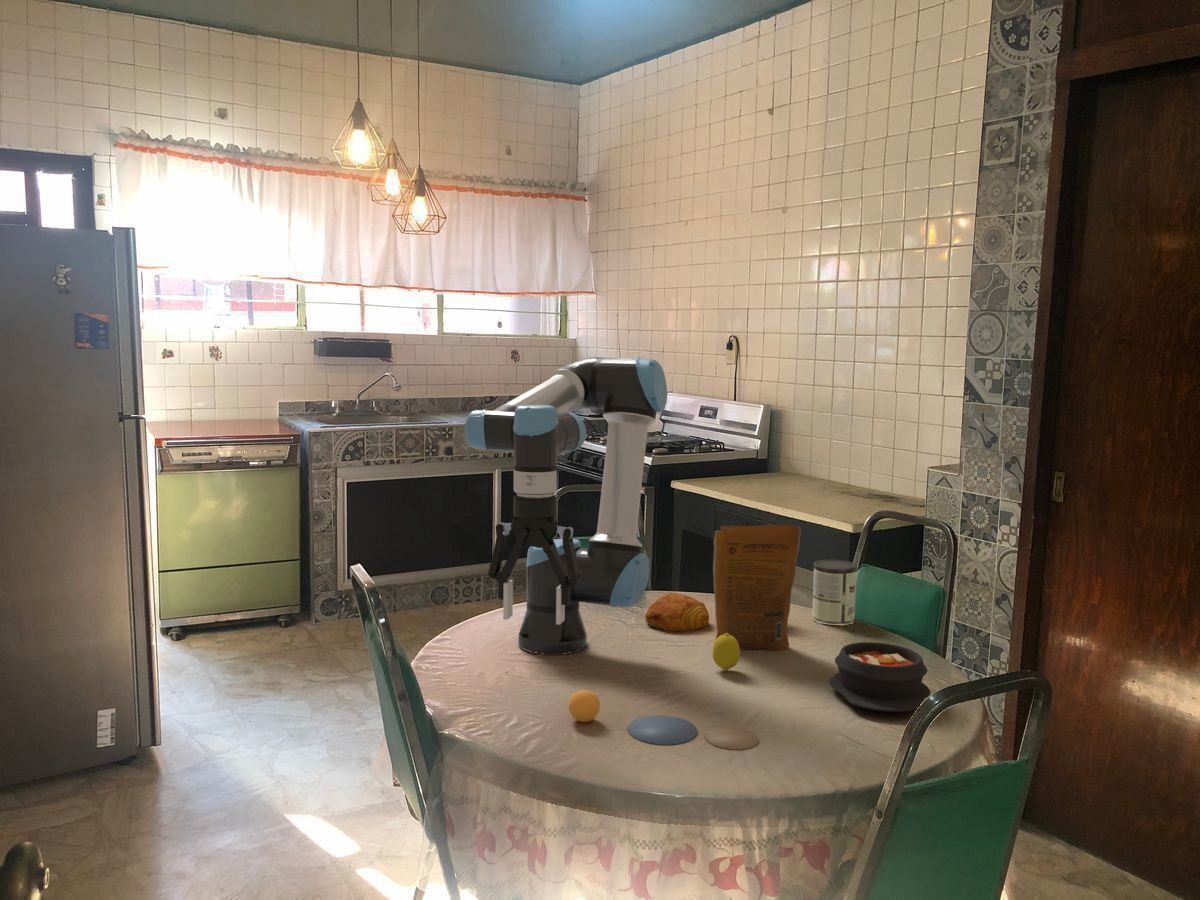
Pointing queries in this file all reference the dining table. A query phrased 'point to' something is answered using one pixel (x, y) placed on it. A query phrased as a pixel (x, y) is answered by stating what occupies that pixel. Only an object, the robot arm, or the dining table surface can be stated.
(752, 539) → the pancake mix bag
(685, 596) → the croissant
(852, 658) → the casserole
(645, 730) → the disc
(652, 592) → the dining table surface
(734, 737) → the disc
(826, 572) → the coffee can
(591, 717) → the ball
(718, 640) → the lemon
